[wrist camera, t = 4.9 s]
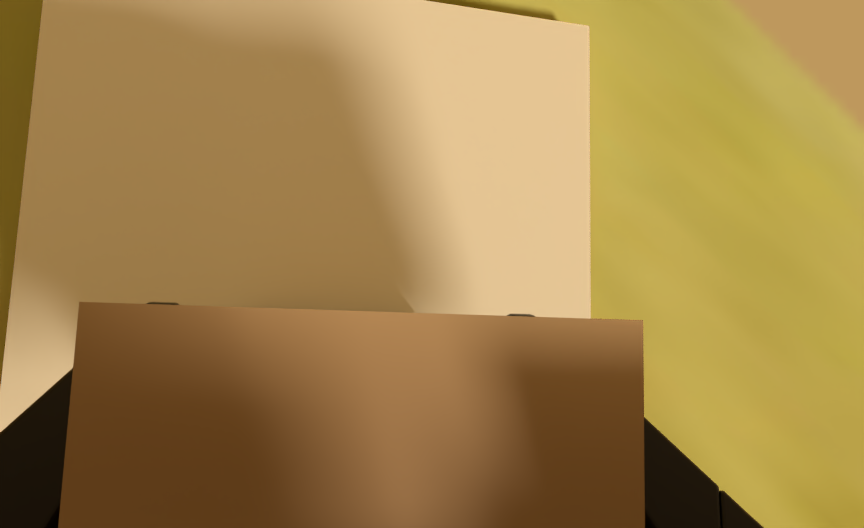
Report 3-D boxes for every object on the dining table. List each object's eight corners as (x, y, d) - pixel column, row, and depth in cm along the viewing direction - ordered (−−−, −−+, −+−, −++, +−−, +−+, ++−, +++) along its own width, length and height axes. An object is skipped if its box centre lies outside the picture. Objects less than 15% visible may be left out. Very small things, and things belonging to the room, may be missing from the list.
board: (574, 831, 15) (593, 867, 14) (-38, 943, 12) (-67, 999, 11) (573, 42, 17) (589, 25, 16) (66, -33, 14) (49, -59, 13)
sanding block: (416, 505, 14) (648, 881, 5) (221, 513, 13) (11, 1016, 4) (422, 319, 14) (642, 320, 5) (233, 313, 13) (80, 301, 4)
